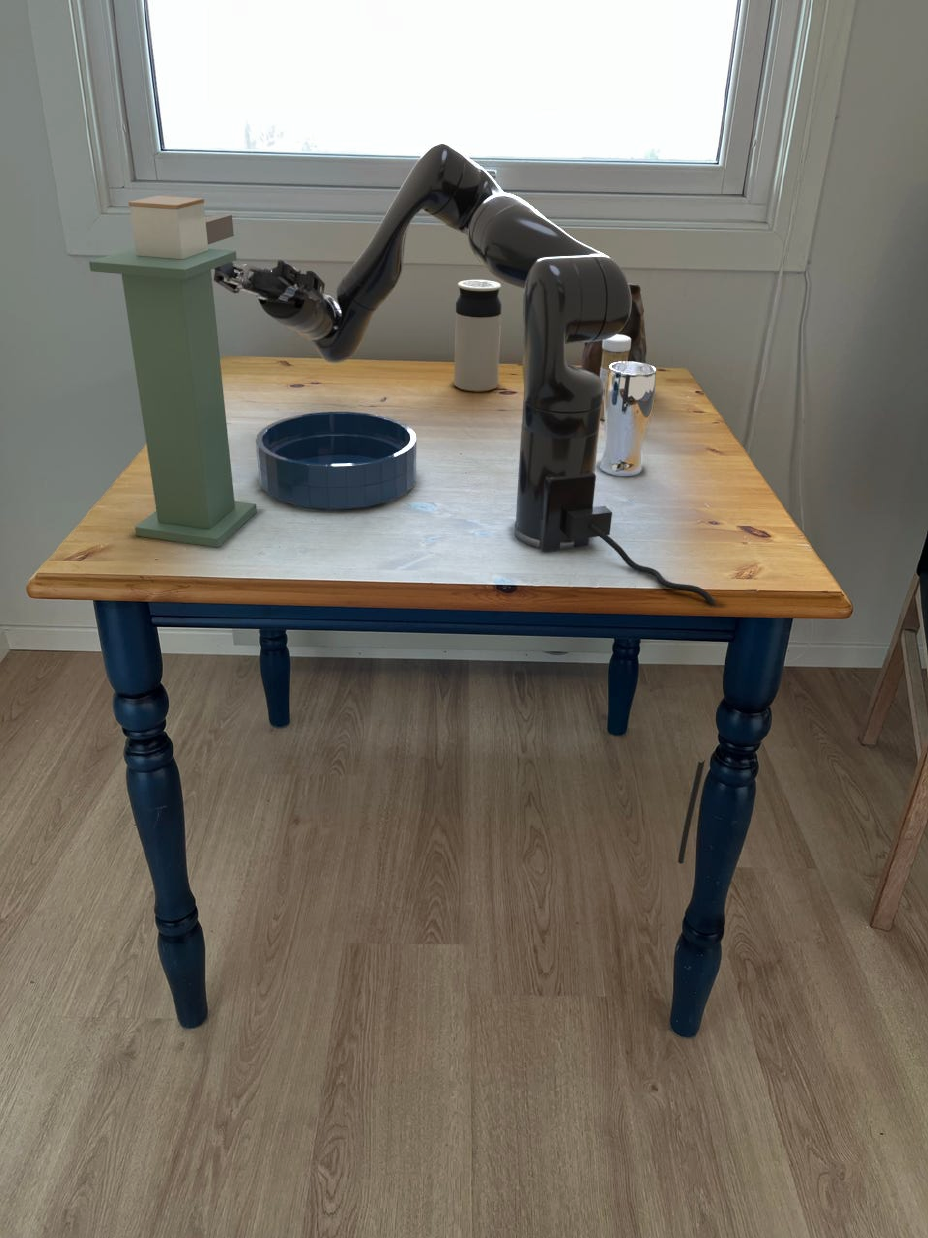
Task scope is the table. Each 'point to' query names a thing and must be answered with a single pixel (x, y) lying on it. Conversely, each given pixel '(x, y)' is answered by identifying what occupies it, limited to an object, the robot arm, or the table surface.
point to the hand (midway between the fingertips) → (248, 264)
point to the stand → (181, 394)
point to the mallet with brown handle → (175, 227)
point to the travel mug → (477, 335)
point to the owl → (631, 329)
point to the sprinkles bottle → (613, 357)
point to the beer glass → (627, 416)
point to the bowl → (336, 460)
